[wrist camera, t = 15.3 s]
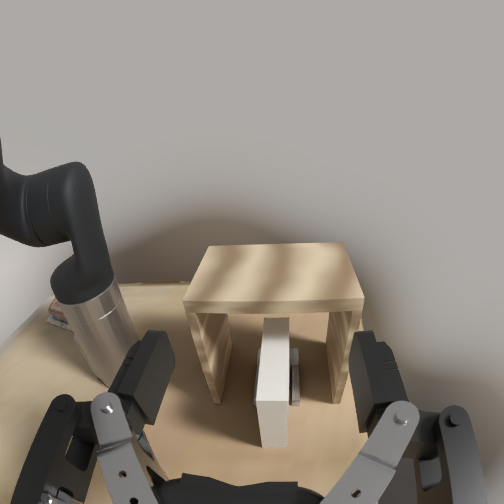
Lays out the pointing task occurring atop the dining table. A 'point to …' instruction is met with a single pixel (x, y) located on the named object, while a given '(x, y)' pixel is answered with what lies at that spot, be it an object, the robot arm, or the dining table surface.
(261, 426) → the white box
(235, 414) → the dining table surface
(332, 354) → the wooden arch
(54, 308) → the packaged product
